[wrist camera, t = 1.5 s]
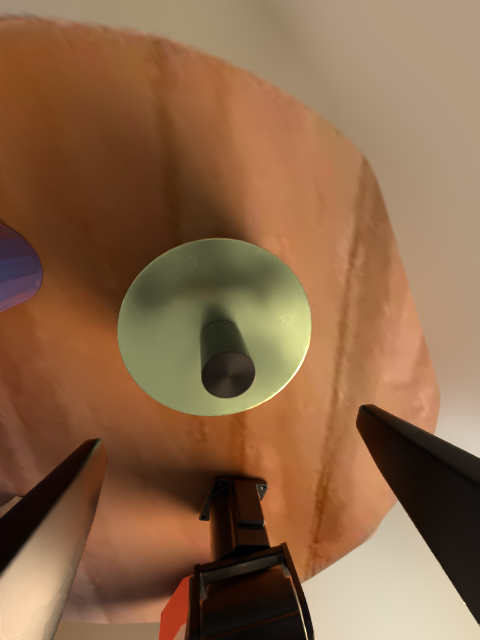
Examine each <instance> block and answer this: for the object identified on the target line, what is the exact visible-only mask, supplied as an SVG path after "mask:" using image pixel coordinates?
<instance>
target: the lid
mask: <svg viewBox="0 0 480 640" xmlns="http://www.w3.org/2000/svg"><path fill="white" fill-rule="evenodd" d="M311 322H312V318H311V311H310V305H309V302H308V298H307V295H306V293H305V291H304V288H303V286H302V284H301V283H300V281H299V279H298V278H297V276H296V275H295V274H294V272H293V271H292V270H291V269H290V268H289V267H288V266H287V265H286V264H285V263H284V262H283V261H282V260H281V259H280V258H278V257H277V256H275V255H274V254H272V253H271V252H269V251H268V250H266V249H264V248H261V247H259V246H257V245H255V244H252V243H248V242H245V241H242V240H237V239H230V238H206V239H198V240H194V241H190V242H186V243H183V244H181V245H179V246H176V247H174V248H171V249H170V250H168V251H166V252H165V253H163V254H161V255H160V256H158V257H157V258H156V259H154V260H153V261H152V262H151V263H149V264H148V265H147V266H146V267H145V268H144V269H143V270H142V271H141V272H140V273H139V274H138V276H137V277H136V278H135V280H134V281H133V283H132V284H131V285H130V287H129V289H128V291H127V293H126V295H125V297H124V299H123V302H122V305H121V308H120V312H119V317H118V324H117V336H118V344H119V350H120V353H121V356H122V359H123V362H124V364H125V366H126V368H127V370H128V372H129V374H130V375H131V376H132V378H133V379H134V381H135V382H136V383H137V384H138V385H139V386H140V388H141V389H142V390H143V391H144V392H146V393H147V394H148V395H149V396H150V397H152V398H153V399H155V400H156V401H158V402H159V403H161V404H163V405H165V406H167V407H169V408H171V409H174V410H177V411H180V412H183V413H187V414H192V415H199V416H222V415H229V414H234V413H238V412H242V411H245V410H248V409H250V408H253V407H255V406H257V405H259V404H261V403H263V402H264V401H266V400H268V399H269V398H271V397H272V396H274V395H275V394H276V393H277V392H279V391H280V390H281V389H282V388H283V387H284V386H285V385H286V384H287V383H288V382H289V381H290V380H291V379H292V377H293V376H294V374H295V373H296V372H297V370H298V369H299V367H300V365H301V363H302V362H303V359H304V357H305V355H306V352H307V349H308V346H309V342H310V336H311Z"/></svg>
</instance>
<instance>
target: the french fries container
mask: <svg viewBox="0 0 480 640" xmlns="http://www.w3.org/2000/svg"><path fill="white" fill-rule="evenodd" d="M191 576H192V575H191ZM191 576H188V577H185V578H183V580H182V581H181V583H180V584H179V586H178V588H177V589H176V591H175V592H174V594H173V596H172V597H171V599H170V600H169V602H168V603H167V605H166V607H165V608H164V610H163V611H162V613H161V622H160V633H159V640H184V638H185V630H186V622H187V613H188V603H189V578H190V577H191Z"/></svg>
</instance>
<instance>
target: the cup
mask: <svg viewBox="0 0 480 640" xmlns="http://www.w3.org/2000/svg"><path fill="white" fill-rule="evenodd" d="M42 275H43V273H42V266H41V262H40V260H39V257H38V255H37V254H36V252H35V250H34V249H33V248H32V246H31V245H30V244H29V243H28V242H27V241H26V240H25V239H24V238H23V237H22V236H21V235H19V234H18V233H17V232H15V231H14V230H12V229H11V228H9V227H7V226H5V225H3V224H0V313H1V312H3V311H5V310H8V309H10V308H12V307H15V306H17V305H19V304H21V303H23V302H25V301H27V300H29V299H30V298H32V297H33V296H34V295H35V294H36V293H37V291H38V290H39V288H40V285H41V283H42Z"/></svg>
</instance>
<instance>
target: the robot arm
mask: <svg viewBox="0 0 480 640" xmlns="http://www.w3.org/2000/svg"><path fill="white" fill-rule="evenodd" d="M356 426H357V429H358V431H359V433H360V435H361V437H362V439H363V441H364V442H365V444H366V446H367V448H368V450H369V452H370V454H371V456H372V458H373V459H374V461H375V463H376V465H377V467H378V469H379V470H380V472H381V474H382V475H383V477H384V478H385V480H386V481H387V483H388V485H389V486H390V488H391V489H392V491H393V492H394V494H395V495H396V497H397V499H398V500H399V502H400V503H401V505H402V506H403V508H404V509H405V511H406V513H407V514H408V516H409V517H410V519H411V520H412V522H413V523H414V525H415V527H416V528H417V529H418V531H419V533H420V534H421V536H422V537H423V539H424V540H425V542H426V544H427V545H428V547H429V548H430V550H431V551H432V553H433V554H434V556H435V558H436V559H437V561H438V562H439V564H440V565H441V567H442V568H443V570H444V572H445V573H446V575H447V576H448V578H449V579H450V581H451V582H452V584H453V585H454V587H455V589H456V590H457V592H458V593H459V595H460V596H461V598H462V599H463V601H464V602H465V604H466V606H467V607H468V609H469V610H470V612H471V613H472V615H473V616H474V618H475V620H476V621H477V623H478V624H479V626H480V458H478V457H476V456H474V455H472V454H470V453H468V452H466V451H464V450H462V449H460V448H458V447H456V446H454V445H452V444H450V443H448V442H446V441H444V440H442V439H440V438H438V437H436V436H434V435H432V434H430V433H428V432H426V431H424V430H422V429H420V428H418V427H416V426H414V425H412V424H410V423H408V422H406V421H404V420H402V419H400V418H398V417H396V416H394V415H392V414H390V413H388V412H386V411H384V410H382V409H380V408H378V407H376V406H374V405H372V404H366V405H361V406H360V407H359V411H358V415H357V420H356ZM106 466H107V454H106V450H105V447H104V443H103V440H102V439H101V438H95V439H88V440H86V441H85V442H84V443H83V444H81V445H80V446H79V447H78V448H77V449H76V450H75V451H74V452H73V453H71V454H70V455H69V456H68V457H67V458H66V459H65V460H64V461H63V462H62V463H60V464H59V465H58V466H57V467H56V468H55V469H54V470H53V471H52V472H50V473H49V474H48V475H47V476H46V477H45V478H44V479H43V480H42V481H41V482H39V483H38V484H37V485H36V486H35V487H34V488H33V489H32V490H31V491H29V492H28V493H27V494H26V495H25V496H24V497H23V498H22V499H21V500H19V501H18V502H17V503H16V504H15V505H14V506H13V507H12V508H11V509H10V510H8V511H7V512H6V513H5V514H4V515H3V516H2V517H1V518H0V640H53V639H54V636H55V633H56V631H57V627H58V624H59V622H60V619H61V616H62V613H63V610H64V607H65V604H66V601H67V598H68V595H69V592H70V589H71V586H72V583H73V580H74V577H75V574H76V571H77V568H78V565H79V562H80V559H81V556H82V554H83V551H84V548H85V545H86V542H87V539H88V536H89V533H90V530H91V527H92V523H93V520H94V516H95V513H96V509H97V504H98V500H99V496H100V492H101V487H102V483H103V479H104V475H105V470H106ZM267 489H268V484H267V482H266V481H259V480H248V479H237V478H226V477H216V478H215V479H214V480H213V483H212V485H211V487H210V490H209V492H208V494H207V496H206V499H205V501H204V503H203V506H202V508H201V510H200V513H199V520H203V521H209V527H210V549H211V562H210V563H206V564H202V565H201V564H196V565H194V574H193V575H192V576H191V577H190V578H189V603H188V613H187V622H186V630H185V638H184V640H315V636H314V630H313V626H312V621H311V617H310V613H309V609H308V605H307V602H306V598H305V595H304V592H303V590H302V587H301V584H300V581H299V578H298V575H297V572H296V570H295V567H294V564H293V561H292V558H291V555H290V553H289V550H288V547H287V544H286V542H285V543H281V544H280V545H278V546H274V547H270V543H269V538H268V534H267V530H266V525H265V519H264V514H263V510H262V506H261V500H262V498H263V497H264V495H265V493H266V491H267Z"/></svg>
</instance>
